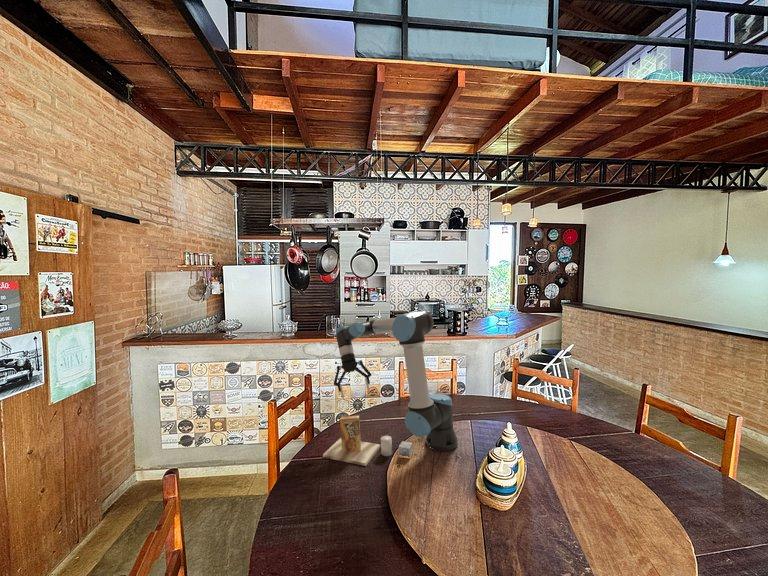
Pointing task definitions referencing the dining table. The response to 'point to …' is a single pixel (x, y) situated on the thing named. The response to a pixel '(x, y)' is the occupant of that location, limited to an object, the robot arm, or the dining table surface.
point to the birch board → (352, 453)
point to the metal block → (405, 448)
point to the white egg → (386, 445)
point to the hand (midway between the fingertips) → (356, 394)
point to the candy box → (350, 433)
